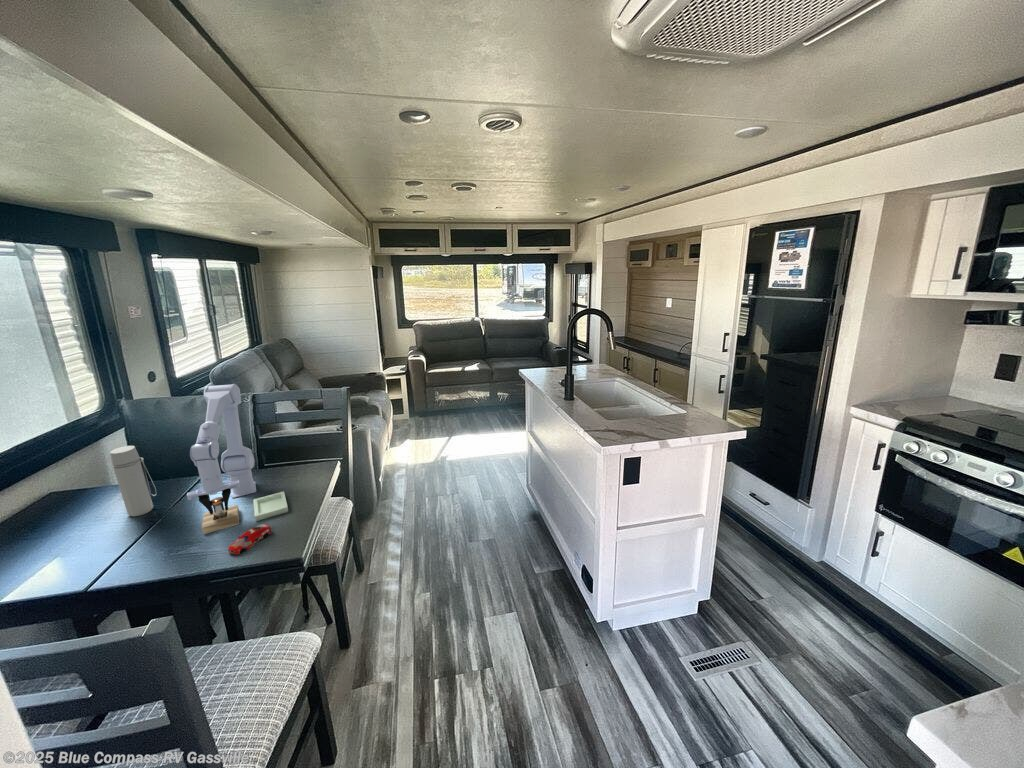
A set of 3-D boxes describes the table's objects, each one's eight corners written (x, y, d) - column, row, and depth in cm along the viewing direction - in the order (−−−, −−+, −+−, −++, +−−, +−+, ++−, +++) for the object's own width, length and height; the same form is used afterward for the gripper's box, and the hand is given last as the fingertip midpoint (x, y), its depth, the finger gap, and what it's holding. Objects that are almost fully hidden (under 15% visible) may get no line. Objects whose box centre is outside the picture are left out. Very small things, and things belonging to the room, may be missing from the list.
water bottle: (127, 520, 144) (107, 456, 137) (128, 511, 150) (108, 449, 143) (161, 510, 150) (143, 448, 143) (160, 501, 155) (143, 441, 149)
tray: (254, 504, 153) (253, 499, 152) (284, 495, 158) (283, 491, 158) (255, 521, 142) (254, 516, 142) (288, 511, 148) (287, 506, 147)
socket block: (205, 519, 144) (203, 513, 143) (238, 510, 149) (237, 504, 148) (203, 534, 136) (201, 527, 135) (239, 524, 141) (237, 517, 140)
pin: (215, 519, 143) (210, 499, 140) (228, 515, 145) (223, 495, 142) (214, 524, 140) (209, 504, 137) (228, 521, 142) (223, 500, 139)
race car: (236, 558, 124) (233, 547, 123) (224, 554, 126) (222, 543, 125) (275, 533, 136) (273, 523, 135) (264, 529, 138) (262, 519, 137)
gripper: (182, 487, 130) (192, 524, 134) (236, 474, 138) (244, 509, 142) (184, 478, 136) (194, 513, 140) (236, 466, 144) (243, 500, 147)
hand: (219, 511), depth 141 cm, fingers closed on pin, 4 cm apart
